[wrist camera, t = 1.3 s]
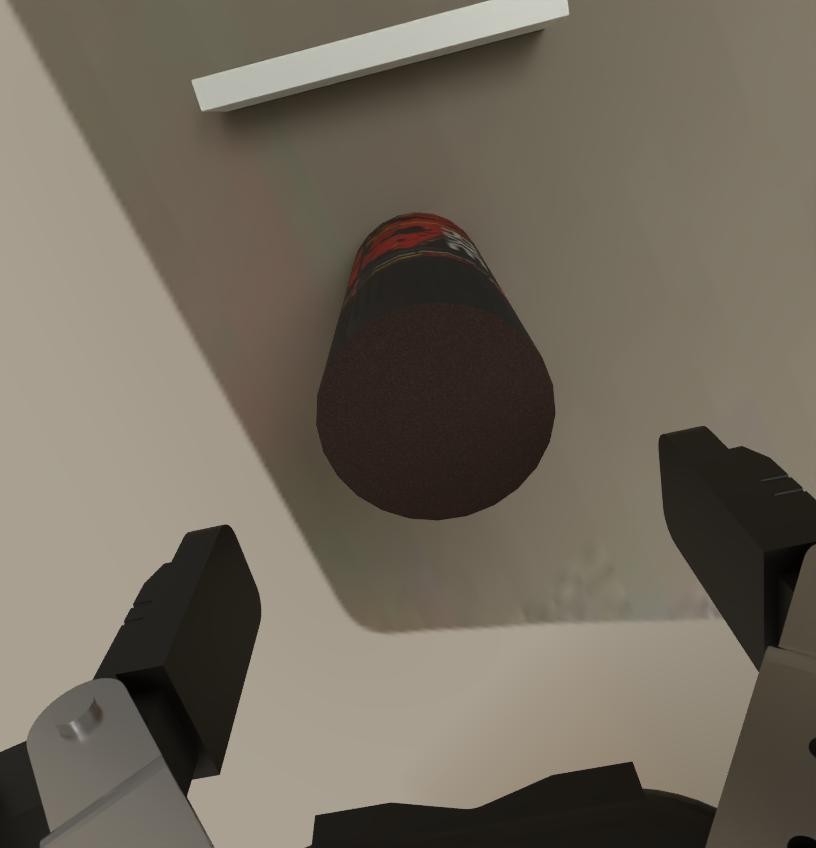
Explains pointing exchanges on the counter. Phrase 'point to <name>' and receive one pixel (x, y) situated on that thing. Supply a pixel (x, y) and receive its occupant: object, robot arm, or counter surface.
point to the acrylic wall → (375, 52)
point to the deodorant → (431, 378)
